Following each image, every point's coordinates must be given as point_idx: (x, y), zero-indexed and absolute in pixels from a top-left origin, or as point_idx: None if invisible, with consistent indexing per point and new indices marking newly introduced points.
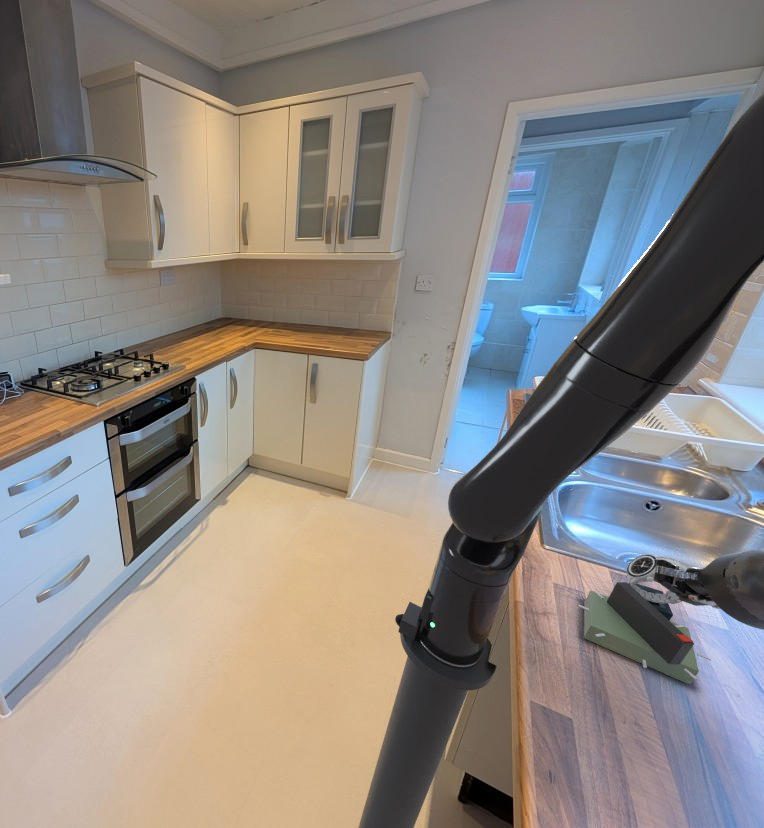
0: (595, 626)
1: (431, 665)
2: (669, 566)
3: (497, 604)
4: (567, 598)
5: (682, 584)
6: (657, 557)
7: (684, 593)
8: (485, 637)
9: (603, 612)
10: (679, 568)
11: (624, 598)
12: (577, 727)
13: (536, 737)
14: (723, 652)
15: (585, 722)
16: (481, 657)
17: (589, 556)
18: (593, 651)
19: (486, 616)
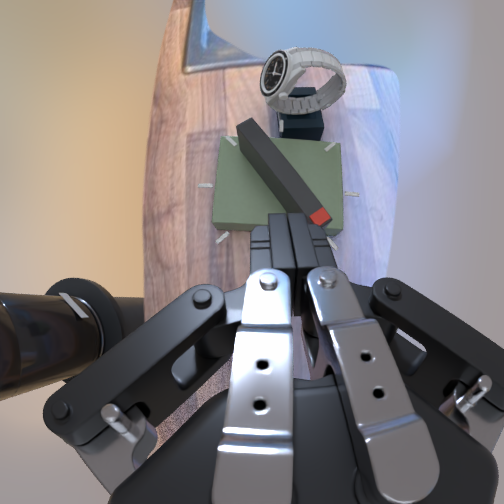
0: (217, 220)
1: (69, 379)
2: (80, 440)
3: (26, 380)
4: (202, 155)
5: (207, 347)
6: (290, 52)
7: (222, 363)
8: (72, 365)
9: (233, 177)
10: (118, 424)
11: (250, 150)
12: (201, 397)
13: (163, 431)
14: (375, 149)
15: (210, 385)
16: (106, 340)
17: (241, 57)
18: (227, 249)
19: (35, 386)
